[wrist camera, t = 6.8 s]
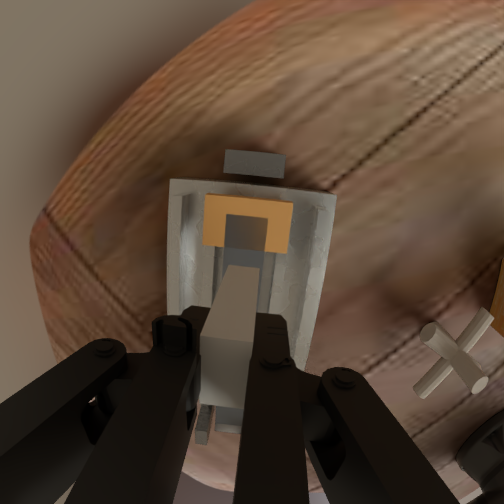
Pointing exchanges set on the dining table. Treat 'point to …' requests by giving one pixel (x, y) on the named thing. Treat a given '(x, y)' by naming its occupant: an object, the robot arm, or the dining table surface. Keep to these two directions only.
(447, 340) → the pipe connector
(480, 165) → the dining table surface
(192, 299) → the heatsink
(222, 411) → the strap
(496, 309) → the small box
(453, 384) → the dining table surface
